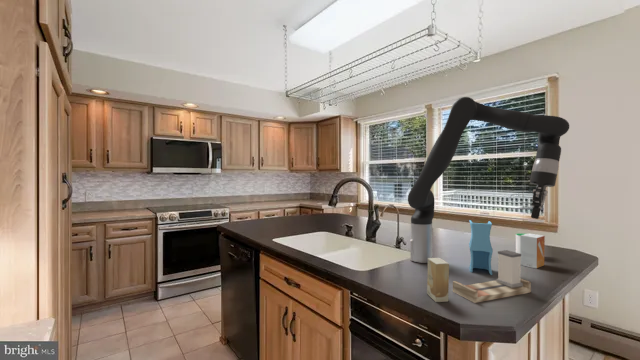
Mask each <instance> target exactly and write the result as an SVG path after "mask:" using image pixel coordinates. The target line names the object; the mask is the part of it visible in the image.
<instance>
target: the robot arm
mask: <svg viewBox="0 0 640 360" xmlns="http://www.w3.org/2000/svg"><path fill="white" fill-rule="evenodd" d="M471 121H478V122H483V123H489V124H492V125H496V126H497V127H502V128H504V129H508V130H511V131H512V130H514V131H517V132H521V133H526V134H527V133H538V134H537V150H536V153H535V154H536V155H535V159H534V162H533V165H532V170H531V174H530V178H529V179H530V180H529V183H530V184H531V185H534V186H535V188H533V190H532V199H531V201H532V202H531V207H532V210H531V215H530V217H531V218H532V219H535V220H539V219H540V214H541V210H542V209H543V208H544V206H543V205H544V204H545V202H546V197H547V196H548V190H547V189H546V188H547V187H549V188H554V187H555V186H556V182H557V176H558V173H559V167H560V166H559V165H560V159H561V155H562V147H561V146H560V139H561V137H562V136H564V135H565V134H567V133H568V131H569V129H570V124H569V122H568V120H566V119H565V118H563V117H559V116H556V115H547V114H546V115H545V114H533V113H529V112H524V111H519V110H514V109H509V108H507V109H506V108H499V107H495V106H490V105H486V104H482V103H481V102H477V101H476V100H474V99H473V98H471V97H469V96H461V97H459V98H458V99H456V100H454V102H453V103H452V106H451V108H450V110H449V115H448V117H447V120H446V123H445V124H444V128H443V129H442V131H441V133H440V134H439V136H438V137H437V139H436V141H435V142H434V144H433V146H432V148H431V149H430V152H429V154H428V156H427V159H426V161H425V163H424V165H423V167H422V169H421V171H420V173H419V176H418V178H417V179H416V181H415V183H414V185H413V186H412V188H411V189H410V191H409V193H408V195H407V203H408V205H409V206H410V207H411V209H415V210H414V213H413V214H412V215H411V217H410V261H411V262H415V263H420V264H428V258H433V220H434V216H435V195H434V193H433V191H432V189H433V186H434V184H435V183H436V182H437V180H438V179H439V178H440V177H441V176H442V175H443V174H444V173H445V171H447V169H448V167H449V166H450V164H451V162H452V160H453V158H454V155H455V153H456V152H457V149H458V146H459V143H460V140H461V137H462V135H463V133H464V131H465V130H466V128H467V126H468V124H469V123H470V122H471Z"/></svg>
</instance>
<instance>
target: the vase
mask: <svg viewBox="0 0 640 360" xmlns="http://www.w3.org/2000/svg"><path fill="white" fill-rule="evenodd" d="M468 221H469V226H470V232H471V233H470V239H469V243H468V247H469V252H470V262H469V263H470V264H469V267H468V268H469V272H470V273H473V271H474V270H473V269H481V270H482V269H483V270H487V271H488V273H489V275H491V276H493V271H492V257H493V251H494V249H493V247H492V243H491V237H490V236H491V230H492V226H493V223H492V222H491V221H490V220H488V222H487V223H481V222H480V223H479V222H473V221H472V220H470V219H469V220H468Z"/></svg>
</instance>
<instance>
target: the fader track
mask: <svg viewBox="0 0 640 360" xmlns="http://www.w3.org/2000/svg"><path fill="white" fill-rule="evenodd" d="M521 282H522V283H523V286H520V287H514V288H511V287H508V286H506V285H503V284H501V283H498V282H496V279H495V280H489V281H483V282H479V283H478V282H477V283H472V284H466V285H465V284H464V283H460V282H459V281H456V280H452V292H453V293H454V294H457V295H458V296H460V297H463V298H464V299H466V300H468V301H469V302H471V303H474V304H478V303H483V302H486V301H492V300H496V299H497V300H498V299H502V298H503V299H504V298H509V297H514V296H518V295H524V294H528V293H529V294H531V291H532V286H531V285H532V283H531V281H529V280H527V279H526V280H525V279H523V278H521Z"/></svg>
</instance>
